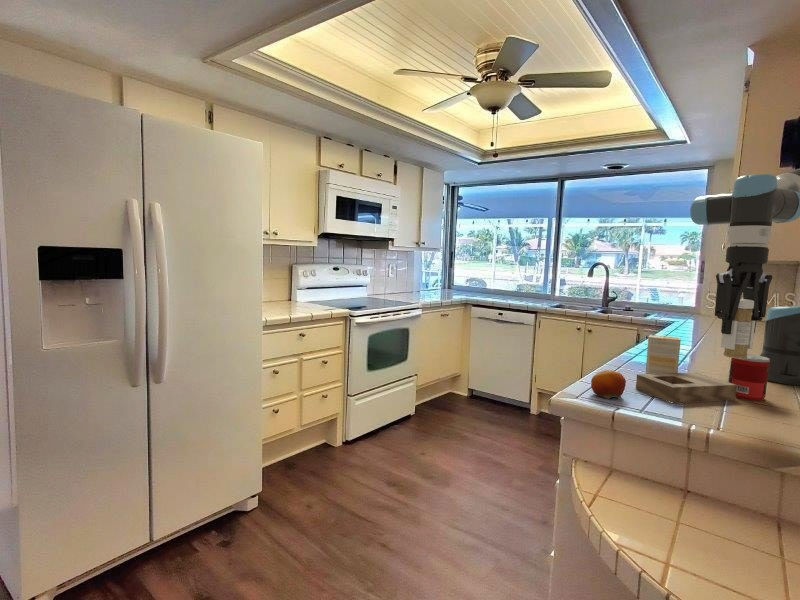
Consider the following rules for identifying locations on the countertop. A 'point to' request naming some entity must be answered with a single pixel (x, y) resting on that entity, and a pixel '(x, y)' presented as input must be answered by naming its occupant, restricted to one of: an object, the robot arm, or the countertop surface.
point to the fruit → (608, 384)
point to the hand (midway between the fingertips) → (736, 347)
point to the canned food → (750, 376)
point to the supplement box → (662, 354)
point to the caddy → (685, 387)
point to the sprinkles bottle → (742, 330)
